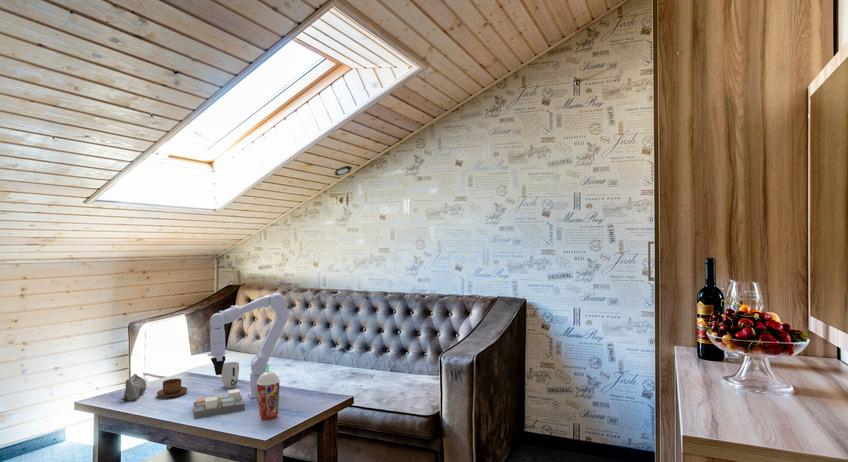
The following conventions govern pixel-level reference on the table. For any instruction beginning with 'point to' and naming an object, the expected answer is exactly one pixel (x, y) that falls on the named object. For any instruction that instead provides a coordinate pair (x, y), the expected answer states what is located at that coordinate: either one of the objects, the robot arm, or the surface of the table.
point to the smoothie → (268, 395)
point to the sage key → (219, 398)
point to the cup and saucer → (172, 388)
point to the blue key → (227, 402)
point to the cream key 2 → (234, 394)
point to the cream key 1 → (210, 403)
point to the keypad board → (218, 408)
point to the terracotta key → (200, 401)
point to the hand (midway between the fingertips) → (218, 374)
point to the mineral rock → (134, 387)
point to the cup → (230, 374)
